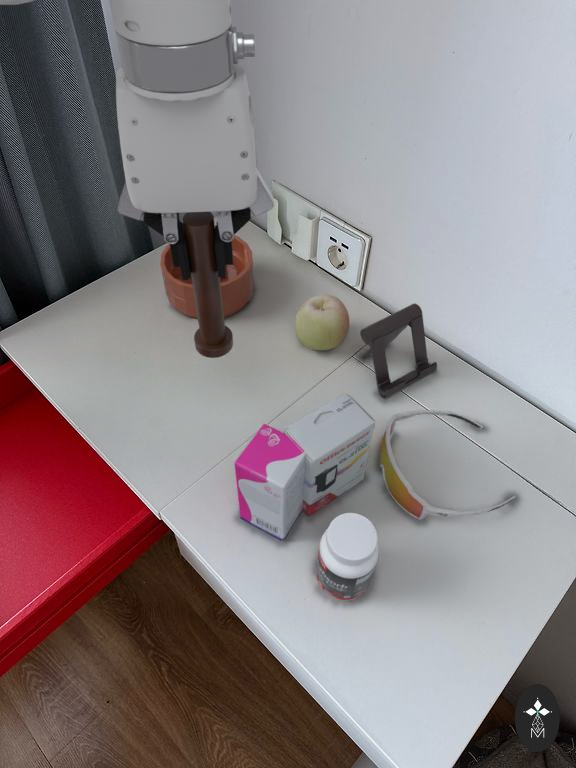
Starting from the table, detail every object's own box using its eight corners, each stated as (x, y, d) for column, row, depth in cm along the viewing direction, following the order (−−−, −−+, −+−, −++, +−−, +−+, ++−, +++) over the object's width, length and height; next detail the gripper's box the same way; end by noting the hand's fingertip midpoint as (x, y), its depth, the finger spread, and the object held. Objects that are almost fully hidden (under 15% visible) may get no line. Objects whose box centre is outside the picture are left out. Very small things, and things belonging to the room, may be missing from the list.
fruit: (336, 366, 79) (341, 325, 72) (287, 350, 80) (287, 308, 74) (354, 330, 83) (360, 288, 77) (307, 315, 85) (310, 273, 79)
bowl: (164, 323, 84) (156, 289, 78) (170, 265, 92) (164, 231, 87) (254, 320, 84) (253, 286, 79) (253, 262, 92) (251, 228, 87)
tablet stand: (384, 402, 75) (394, 360, 68) (348, 364, 79) (354, 321, 72) (434, 374, 78) (448, 331, 71) (397, 339, 82) (406, 295, 76)
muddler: (194, 359, 59) (173, 232, 47) (195, 331, 62) (175, 204, 50) (233, 357, 60) (221, 231, 47) (232, 329, 62) (221, 203, 50)
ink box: (307, 518, 64) (311, 463, 55) (281, 487, 67) (282, 429, 58) (365, 479, 68) (378, 421, 58) (338, 450, 70) (347, 390, 61)
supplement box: (309, 500, 66) (313, 445, 57) (283, 542, 62) (283, 491, 53) (265, 477, 67) (263, 421, 58) (238, 518, 64) (231, 464, 55)
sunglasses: (361, 429, 72) (371, 405, 68) (470, 424, 75) (485, 400, 71) (392, 534, 63) (406, 513, 59) (514, 523, 66) (535, 502, 63)
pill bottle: (304, 574, 60) (308, 534, 53) (340, 538, 63) (349, 495, 55) (345, 614, 58) (355, 578, 50) (381, 575, 60) (396, 535, 53)
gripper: (292, 31, 41) (289, 241, 56) (64, 35, 41) (120, 247, 55) (302, 76, 37) (295, 293, 51) (44, 81, 36) (111, 301, 50)
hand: (204, 268), depth 53 cm, fingers closed on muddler, 2 cm apart
